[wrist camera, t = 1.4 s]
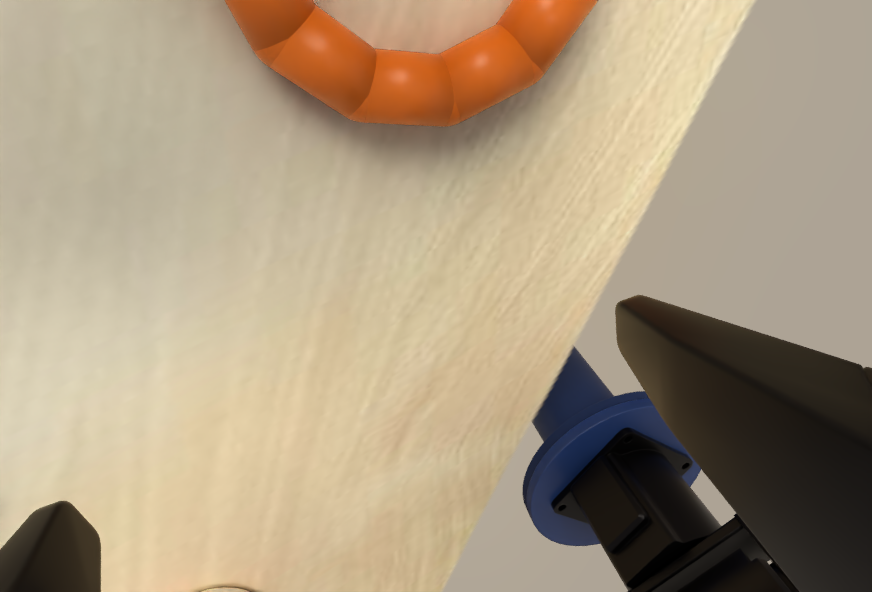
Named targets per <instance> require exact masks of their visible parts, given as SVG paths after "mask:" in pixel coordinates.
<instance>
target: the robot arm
mask: <svg viewBox="0 0 872 592" xmlns="http://www.w3.org/2000/svg"><path fill="white" fill-rule="evenodd" d="M615 314H616V333H617V343H618V347H619V349H620V352H621V354H622V355H623V357H624V358H625V360H626V361H627V363H628V365H629V367H630V368H631V370H632V371H633V373H634V374H635V376H636V378H637V379H638V381H639V382H640V384H641V386H642V387H643V389H644V390H645V392H646V394H647V395H648V397H649V398H650V400H651V402H652V403H653V405H654V406H655V408H656V410H657V411H658V413H659V414H660V416H661V417H662V419H663V420H664V422H665V423H666V425H667V426H668V427H669V429H670V430H671V431H672V433H673V434H674V435H675V437H676V438H677V439H678V440H679V442H680V443H681V444H682V445H683V447H684V448H685V449H686V450H687V452H688V453H689V454H690V455H691V457H692V458H693V459H694V460H695V462H696V463H697V464H698V465H699V467H700V468H701V469H702V470H703V472H704V473H705V474H706V475H707V477H708V478H709V479H710V480H711V482H712V483H713V484H714V485H715V487H716V488H717V489H718V490H719V492H720V493H721V494H722V495H723V497H724V498H725V499H726V500H727V502H728V503H729V504H730V505H731V507H732V508H733V509H734V510H735V512H736V514H735V515H734V516H735V517H734V518H733V519H731V520H730V521H729V522H727V523H726V524H724V525H723V526H721V525H720V524H719V523H718V521H717V520H716V519H715V518H714V516H713V515H712V514H711V513H710V511H709V510H708V509H707V508H706V506H705V505H704V504H703V503H702V501H701V500H700V499H699V498H698V497H697V495H696V494H695V493H694V492H693V490H692V489H691V488H690V487H689V485H688V484H687V483H686V482H685V480H684V479H683V478H682V476H683V475H684V474H685V473H686V472H687V471H688V470H689V469H690V468H691V467H692V465H693V461H692V460H691V458H690V457H689V456H688V455H686V454H684V453H682V452H680V451H678V450H676V449H674V448H672V447H670V446H667V445H665V444H663V443H661V442H659V441H657V440H655V439H653V438H651V437H649V436H647V435H644V434H642V433H640V432H638V431H636V430H634V429H632V428H629V427H627V428H624V429H621V430H620V431H619V432H618V433H617V434H616V435H615V436H614V437H613V438H612V439H611V440H610V441H609V442H608V443H607V444H606V446H605V447H604V448H603V449H602V450H601V451H600V452H599V453H598V454H597V455H596V456H595V457H594V458H593V459H592V460H591V461H590V462H589V463H588V464H587V465H586V466H585V467H584V468H583V470H582V471H581V472H580V473H579V474H578V475H577V476H576V477H575V478H574V479H573V480H572V481H571V482H570V483H569V484H568V485H567V486H566V487H565V488H564V489H563V490H562V491H561V492H560V494H559V495H558V496H557V497H556V498H555V499H554V500H553V501H552V503H551V506H552V508H553V510H554V512H555V513H556V514H559V515H562V516H565V517H569V518H572V519H575V520H578V521H581V522H584V523H587V524H590V526H591V528H592V530H593V531H594V533H595V535H596V536H597V538H598V540H599V542H600V543H601V545H602V546H603V548H604V550H605V552H606V554H607V555H608V557H609V559H610V560H611V562H612V564H613V565H614V567H615V569H616V570H617V572H618V574H619V576H620V577H621V579H622V581H623V582H624V584H625V586H626V588H627V589H628V592H872V368H869V367H865V368H864V369H863V367H862V366H861V365H859V364H856V363H853V362H850V361H847V360H844V359H840V358H838V357H834V356H831V355H828V354H825V353H822V352H819V351H815V350H813V349H809V348H806V347H803V346H800V345H797V344H794V343H790V342H787V341H784V340H781V339H778V338H775V337H771V336H769V335H765V334H762V333H759V332H756V331H753V330H750V329H746V328H743V327H740V326H737V325H734V324H731V323H728V322H725V321H722V320H718V319H715V318H712V317H709V316H706V315H702V314H700V313H696V312H693V311H690V310H687V309H684V308H681V307H678V306H675V305H671V304H668V303H665V302H662V301H658V300H655V299H652V298H649V297H646V296H643V295H637V296H634V297H631V298H628V299H625V300H622V301H620V302H618V303H617V305H616V310H615ZM769 560H771V562H772V563H771V564H770V565H769V564H768V563H767V561H769ZM0 592H101V543H100V538H99V535H98V533H97V531H96V530H95V529H94V528H93V526H92V525H91V524H90V523H89V522H88V521H87V520H86V519H85V518H84V517H83V516H82V515H81V513H80V512H79V511H78V510H77V509H76V508H75V507H74V506H73V505H72V504H71V503H69V502H67V501H59V502H56V503H53V504H50V505H48V506H45V507H42V508H39V509H38V510H36V511H34V512H33V513H32V514H31V515H30V516H29V517H28V519H27V520H26V521H25V522H24V523H23V524H22V525H21V527H20V528H19V529H18V530H17V531H16V532H15V533H14V535H13V536H12V537H11V538H10V539H9V540H8V541H7V543H6V544H5V545H4V546H3V547H2V548H1V549H0Z"/></svg>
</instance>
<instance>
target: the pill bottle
mask: <svg viewBox="0 0 872 592" xmlns="http://www.w3.org/2000/svg"><path fill="white" fill-rule="evenodd" d="M201 592H249V591H247V590H244V589H239V588H227V587H224V588H213V589H208V590H205V591H201Z"/></svg>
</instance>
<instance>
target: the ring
mask: <svg viewBox="0 0 872 592" xmlns="http://www.w3.org/2000/svg"><path fill="white" fill-rule="evenodd" d="M597 1H598V0H513V1H512V2H511V3H510V5H509V6H508V8H507V9H506V11H505V12H504V14H503V15H502V17H501V18H500V20H499V21H498V22H497V24H496V25H494V26H492V27H490V28H489V29H487V30H485V31H483V32H481V33H479V34H477V35H475V36H473V37H471V38H469V39H467V40H465V41H463V42H461V43H459V44H457V45H456V46H454V47H452V48H450V49H448V50H446V51H444V52H442V53H440V54H428V53H417V52H406V51H394V50H383V49H374V48H373V47H371V46H370V45H369V44H367V43H366V42H365V41H363V40H362V39H360V38H359V37H358V36H356V35H355V34H354V33H352V32H351V31H350V30H348V29H347V28H346V27H344V26H343V25H342V24H340V23H339V22H338V21H336V20H335V19H334V18H332V17H331V16H330V15H328V14H327V13H326V12H324V11H323V10H322V9H320V8H319V7H317V6H316V5H315V3H314V1H313V0H225V2H226V4H227V5H228V7H229V9H230V11H231V12H232V14H233V16H234V18H235V20H236V21H237V23H238V25H239V27H240V28H241V30H242V32H243V34H244V35H245V37H246V39H247V41H248V42H249V44H250V46H251V48H252V49H253V51H254V52H255V54H256V55H257V57H258V58H259V59H260V60H261V61H262V62H263V63H264V64H266V65H267V66H268V67H270V68H271V69H273V70H274V71H276V72H278V73H279V74H281V75H282V76H284V77H285V78H287V79H288V80H290V81H291V82H293V83H294V84H296V85H297V86H299V87H300V88H302V89H304V90H305V91H307V92H308V93H310V94H311V95H313V96H314V97H316V98H317V99H319V100H320V101H322V102H323V103H325V104H326V105H328V106H330V107H331V108H333V109H334V110H336V111H337V112H339V113H340V114H342V115H343V116H345V117H347V118H348V119H351V120H353V121H357V122H364V123H383V124H403V125H422V126H441V127H443V126H452V125H456V124H458V123H460V122H462V121H464V120H466V119H468V118H470V117H472V116H474V115H476V114H478V113H480V112H481V111H483V110H485V109H487V108H489V107H491V106H493V105H495V104H497V103H499V102H501V101H503V100H505V99H507V98H509V97H511V96H512V95H514V94H516V93H518V92H520V91H522V90H524V89H526V88H528V87H530V86H532V85H533V84H535V83H536V82H538V81H539V80H540V79H541V78H542V77H543V75H544V74H545V73H546V71H547V70H548V69H549V67H550V66H551V64H552V63H553V62H554V60H555V59H556V58H557V56H558V55H559V53H560V52H561V51H562V49H563V48H564V47H565V45H566V44H567V43H568V41H569V40H570V38H571V37H572V36H573V34H574V33H575V32H576V30H577V29H578V27H579V26H580V25H581V23H582V22H583V21H584V19H585V18H586V16H587V15H588V14H589V12H590V11H591V10H592V8H593V7H594V6H595V4H596V3H597Z"/></svg>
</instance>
